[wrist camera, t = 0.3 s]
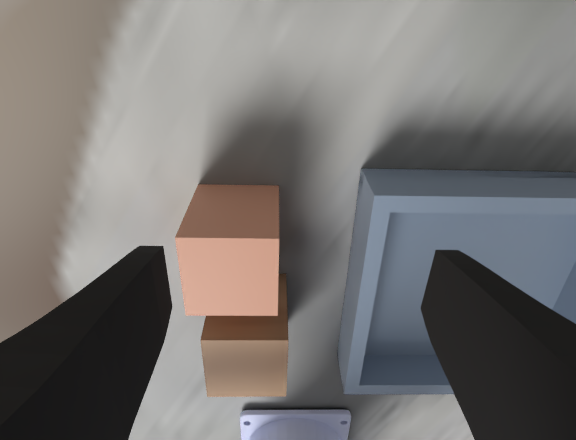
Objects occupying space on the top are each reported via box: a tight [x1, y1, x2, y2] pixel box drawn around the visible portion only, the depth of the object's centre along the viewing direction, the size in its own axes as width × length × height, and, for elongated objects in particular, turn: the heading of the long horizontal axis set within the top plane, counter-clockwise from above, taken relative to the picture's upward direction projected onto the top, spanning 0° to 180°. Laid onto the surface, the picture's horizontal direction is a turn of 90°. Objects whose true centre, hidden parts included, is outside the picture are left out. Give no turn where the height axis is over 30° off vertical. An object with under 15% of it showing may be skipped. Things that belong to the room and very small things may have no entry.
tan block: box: [201, 274, 288, 397], centre depth 21 cm, size 4×4×5 cm
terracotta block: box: [175, 184, 279, 316], centre depth 18 cm, size 4×4×5 cm
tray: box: [337, 169, 576, 394], centre depth 21 cm, size 13×13×3 cm
